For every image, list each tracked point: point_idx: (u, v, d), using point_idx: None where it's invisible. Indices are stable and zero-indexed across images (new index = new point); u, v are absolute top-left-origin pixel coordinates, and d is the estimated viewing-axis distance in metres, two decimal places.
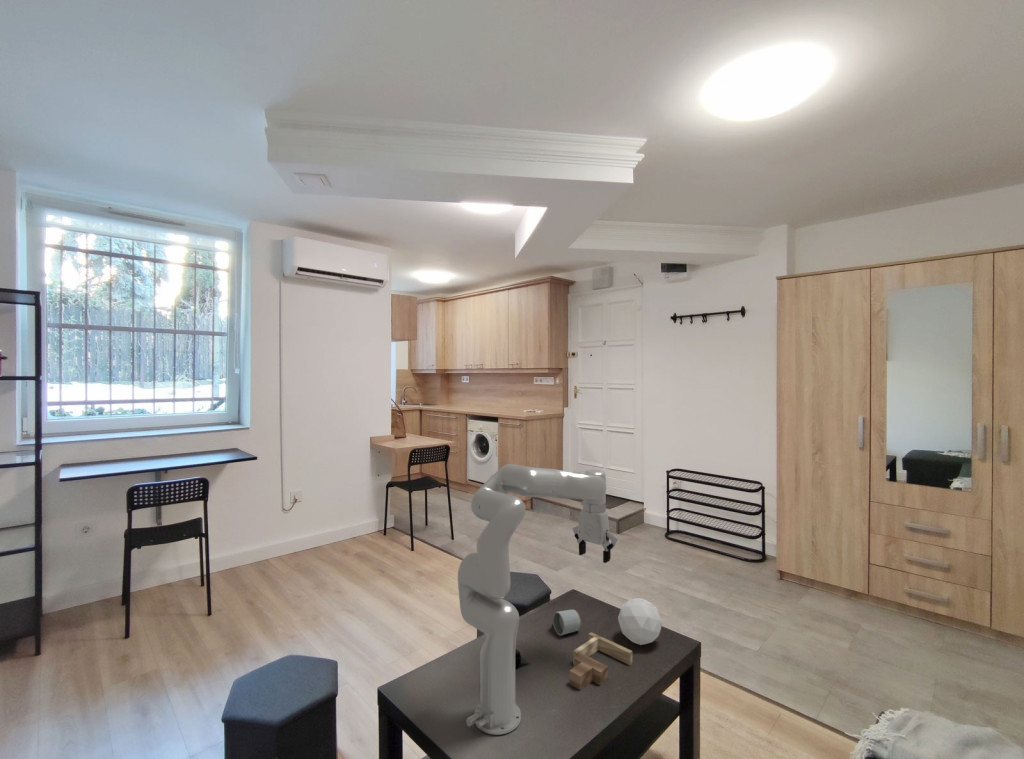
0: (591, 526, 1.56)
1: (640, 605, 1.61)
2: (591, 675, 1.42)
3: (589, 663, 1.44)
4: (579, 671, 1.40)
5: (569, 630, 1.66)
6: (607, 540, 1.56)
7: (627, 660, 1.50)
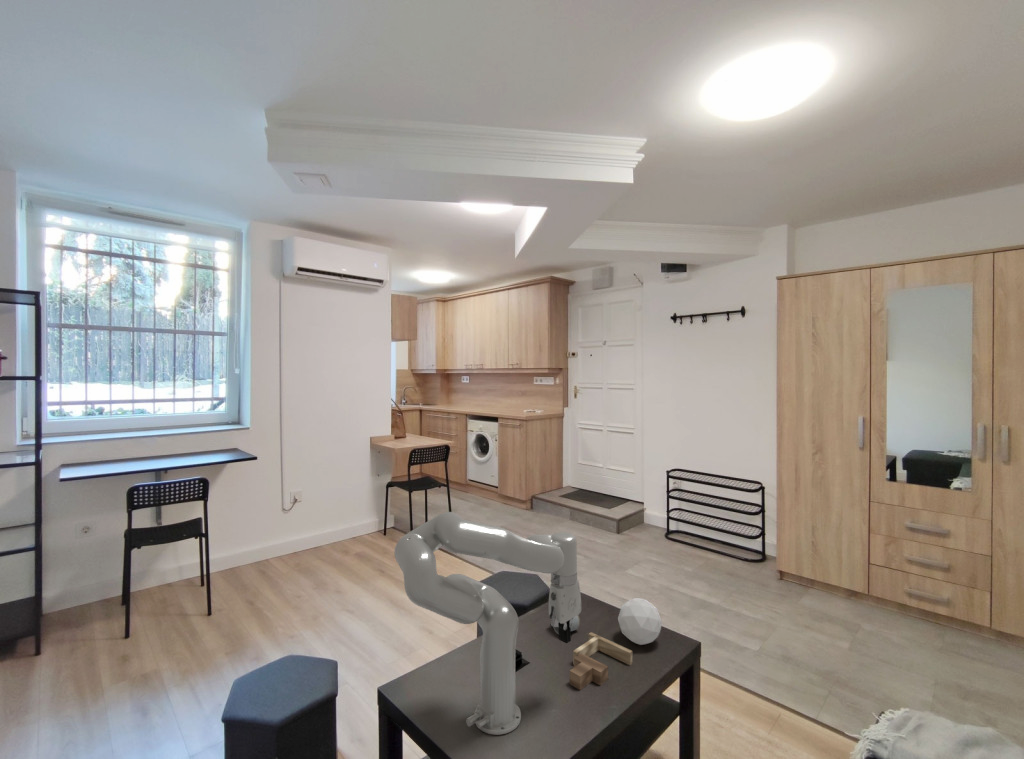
0: (573, 599, 1.34)
1: (640, 605, 1.61)
2: (591, 675, 1.42)
3: (589, 663, 1.44)
4: (579, 671, 1.40)
5: None
6: None
7: (627, 660, 1.50)
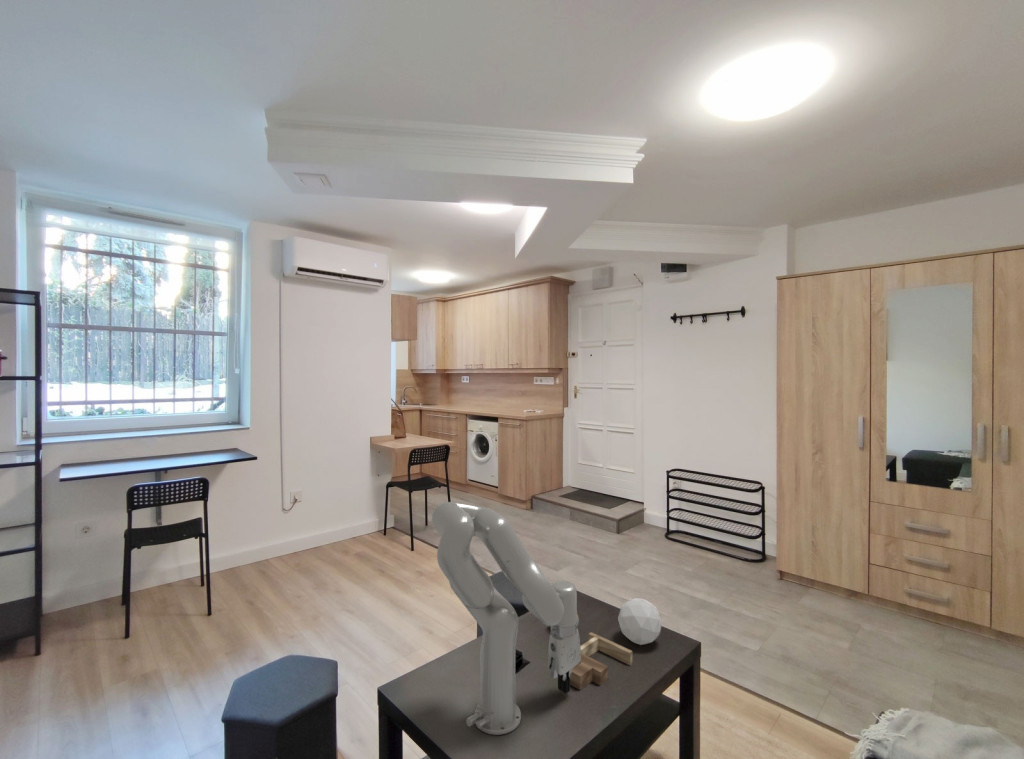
0: (573, 649, 1.34)
1: (640, 605, 1.61)
2: (591, 675, 1.42)
3: (589, 663, 1.44)
4: (579, 671, 1.40)
5: None
6: None
7: (627, 660, 1.50)
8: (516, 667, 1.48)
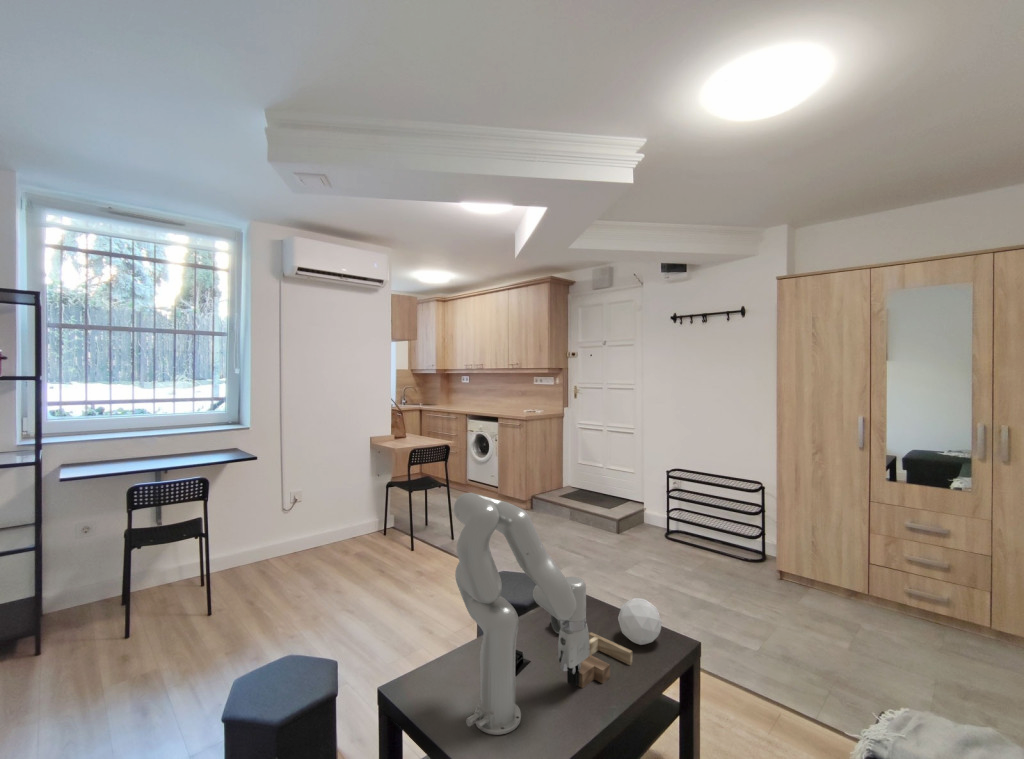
0: (582, 643, 1.37)
1: (640, 605, 1.61)
2: (593, 673, 1.43)
3: (591, 661, 1.45)
4: (582, 669, 1.41)
5: None
6: None
7: (627, 660, 1.50)
8: (518, 667, 1.48)
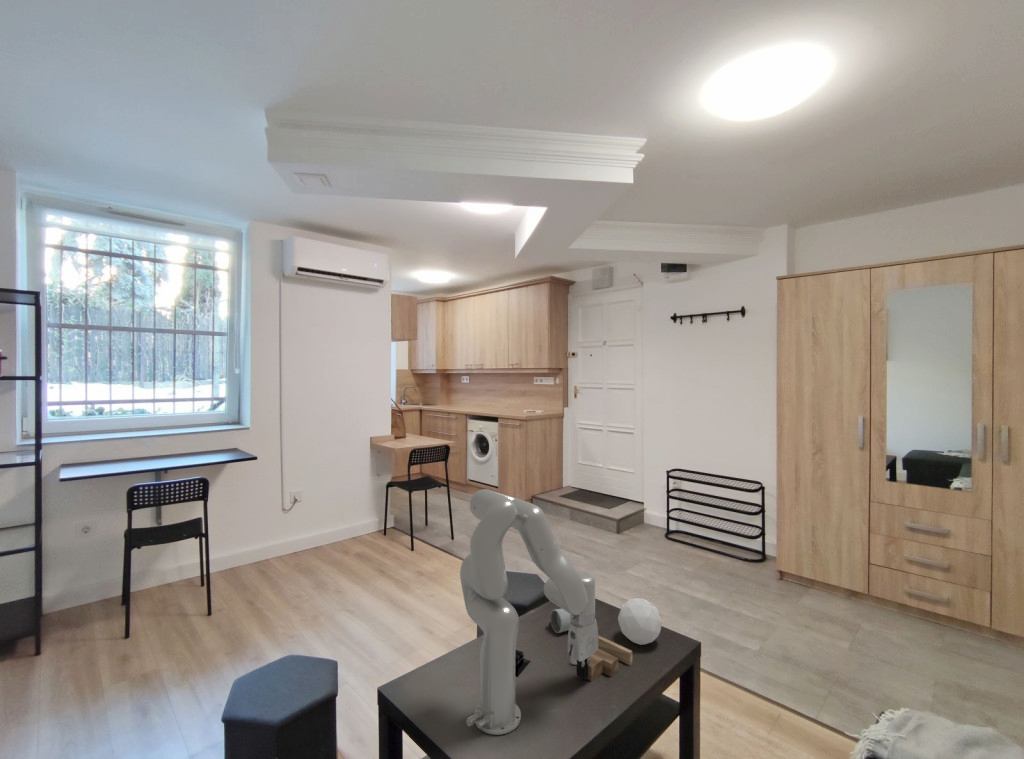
0: (591, 637, 1.40)
1: (640, 605, 1.61)
2: (602, 667, 1.46)
3: (600, 655, 1.48)
4: (590, 662, 1.44)
5: (566, 628, 1.68)
6: None
7: (627, 660, 1.50)
8: (518, 667, 1.48)
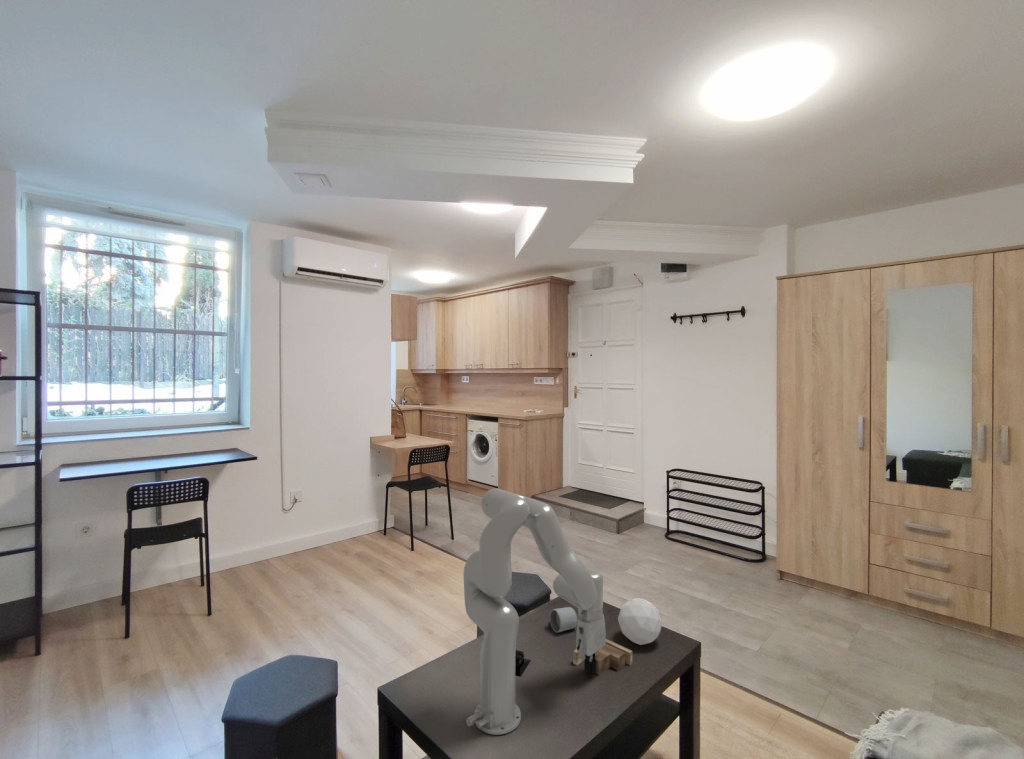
0: (599, 632, 1.43)
1: (640, 605, 1.61)
2: (609, 661, 1.49)
3: (607, 650, 1.51)
4: (598, 657, 1.47)
5: (566, 627, 1.68)
6: None
7: (627, 660, 1.50)
8: (520, 667, 1.48)
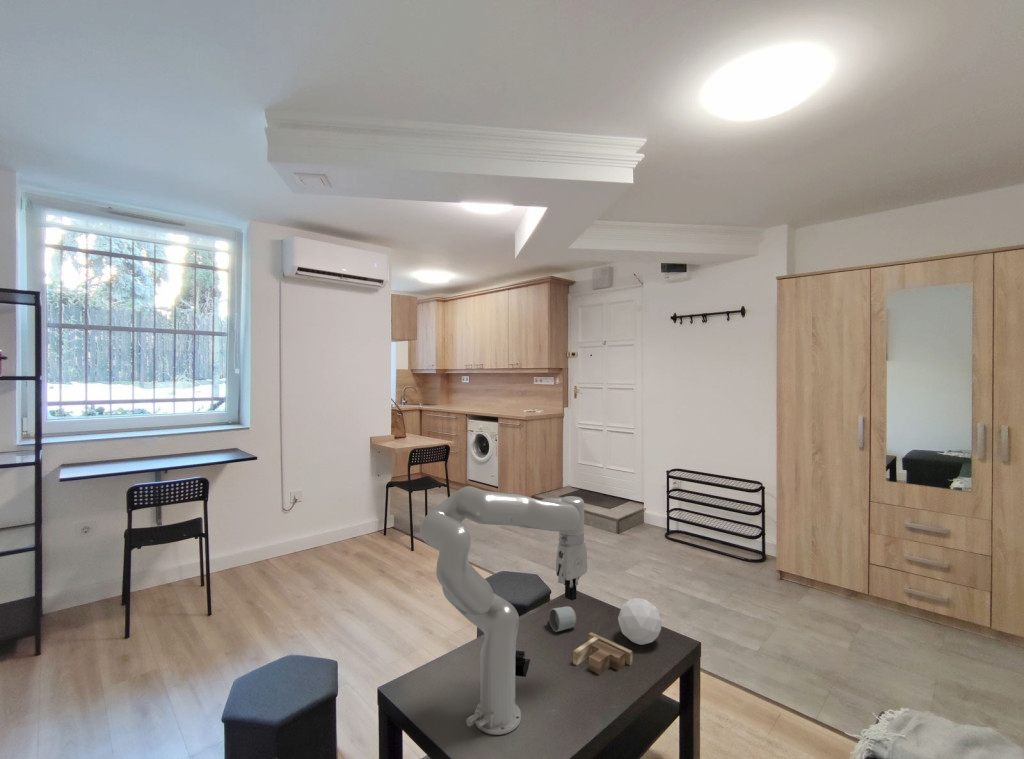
0: (580, 558, 1.42)
1: (640, 605, 1.61)
2: (609, 661, 1.49)
3: (607, 650, 1.51)
4: (598, 657, 1.47)
5: (565, 626, 1.69)
6: None
7: (627, 660, 1.50)
8: (523, 667, 1.48)
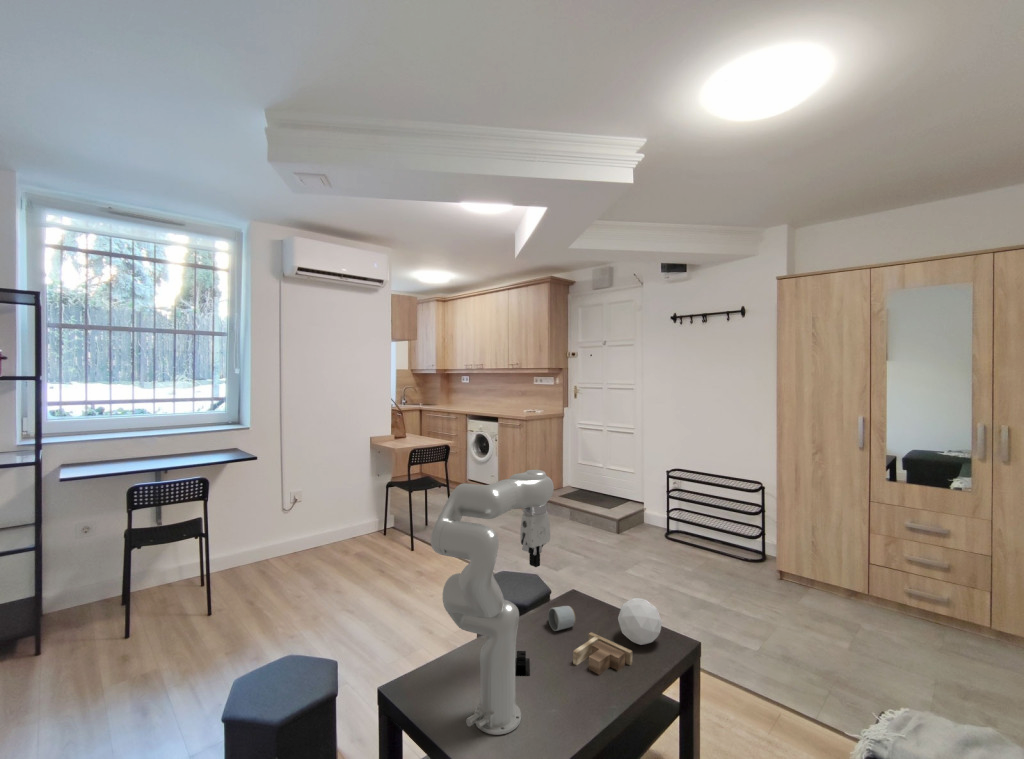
0: (542, 527, 1.50)
1: (640, 605, 1.61)
2: (609, 661, 1.49)
3: (607, 650, 1.51)
4: (598, 657, 1.47)
5: (564, 626, 1.69)
6: None
7: (627, 660, 1.50)
8: (525, 667, 1.48)
